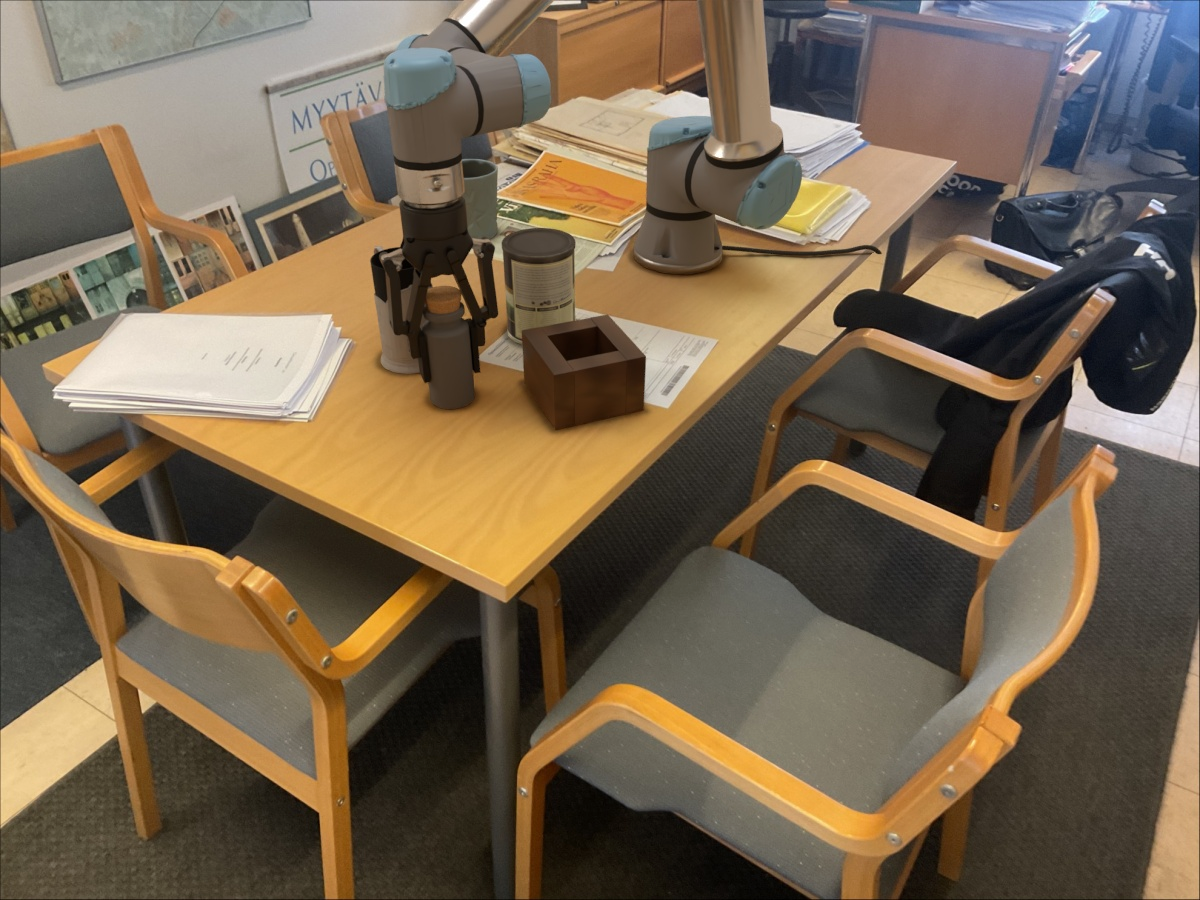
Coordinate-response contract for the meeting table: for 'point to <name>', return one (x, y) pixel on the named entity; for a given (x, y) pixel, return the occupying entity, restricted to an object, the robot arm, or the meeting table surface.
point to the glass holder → (392, 345)
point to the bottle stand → (583, 371)
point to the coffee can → (538, 279)
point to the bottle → (448, 348)
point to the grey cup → (480, 197)
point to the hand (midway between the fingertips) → (450, 372)
